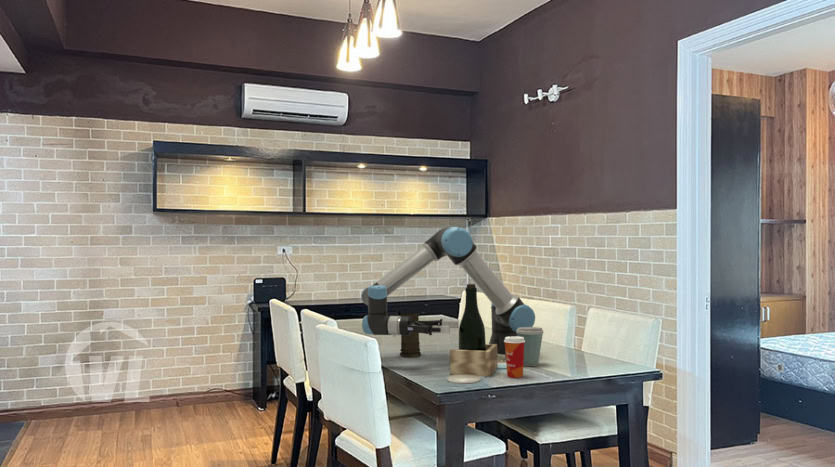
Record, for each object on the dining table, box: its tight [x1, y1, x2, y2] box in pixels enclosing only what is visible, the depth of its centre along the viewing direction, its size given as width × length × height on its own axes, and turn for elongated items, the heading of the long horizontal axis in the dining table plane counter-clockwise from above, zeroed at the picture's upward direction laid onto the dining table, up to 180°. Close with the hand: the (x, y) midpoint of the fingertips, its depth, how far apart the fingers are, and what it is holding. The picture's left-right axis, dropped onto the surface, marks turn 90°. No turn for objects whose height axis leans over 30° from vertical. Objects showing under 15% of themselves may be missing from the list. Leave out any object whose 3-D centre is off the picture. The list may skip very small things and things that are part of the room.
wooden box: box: [449, 343, 499, 377], centre depth 242 cm, size 15×16×9 cm
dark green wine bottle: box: [458, 283, 487, 351], centre depth 243 cm, size 10×10×33 cm
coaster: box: [446, 374, 482, 385], centre depth 228 cm, size 12×12×1 cm
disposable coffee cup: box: [516, 326, 544, 367], centre depth 252 cm, size 11×11×15 cm
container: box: [399, 312, 422, 358], centre depth 275 cm, size 9×9×18 cm
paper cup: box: [504, 336, 525, 379], centre depth 232 cm, size 8×8×14 cm
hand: (454, 327), depth 244 cm, fingers open, 13 cm apart
